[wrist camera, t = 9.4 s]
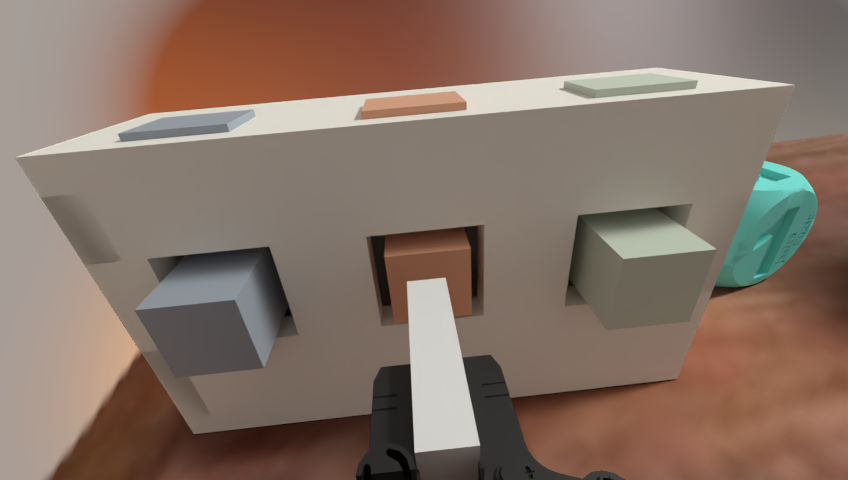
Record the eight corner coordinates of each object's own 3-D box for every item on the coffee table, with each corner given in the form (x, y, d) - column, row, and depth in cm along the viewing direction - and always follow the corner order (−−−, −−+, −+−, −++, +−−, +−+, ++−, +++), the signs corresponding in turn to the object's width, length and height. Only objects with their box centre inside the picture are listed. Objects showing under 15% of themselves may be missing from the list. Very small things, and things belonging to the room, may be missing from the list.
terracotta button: (455, 257, 21) (453, 200, 19) (471, 314, 17) (471, 248, 15) (394, 263, 21) (386, 207, 19) (394, 323, 17) (384, 257, 15)
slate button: (292, 293, 19) (274, 234, 18) (263, 368, 15) (234, 299, 13) (224, 300, 19) (198, 241, 17) (175, 377, 15) (134, 310, 13)
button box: (607, 294, 28) (658, 61, 20) (677, 378, 21) (798, 76, 13) (244, 333, 27) (146, 108, 19) (194, 434, 21) (9, 149, 12)
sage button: (624, 258, 20) (638, 197, 18) (689, 321, 15) (717, 249, 14) (559, 265, 20) (567, 204, 18) (606, 330, 15) (623, 258, 14)
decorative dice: (716, 300, 27) (757, 200, 23) (629, 249, 33) (649, 165, 30) (789, 272, 29) (838, 177, 25) (693, 230, 36) (720, 149, 32)
